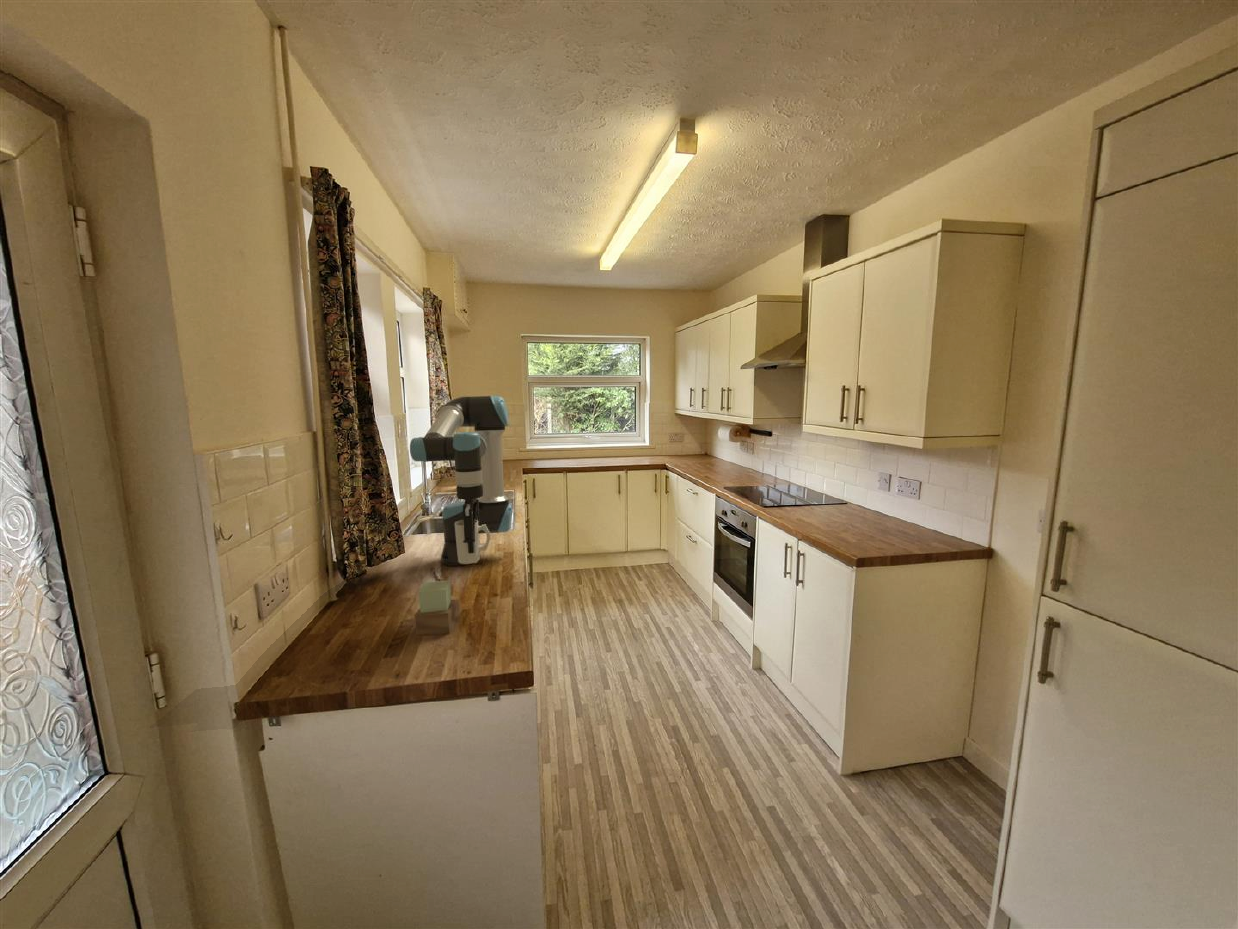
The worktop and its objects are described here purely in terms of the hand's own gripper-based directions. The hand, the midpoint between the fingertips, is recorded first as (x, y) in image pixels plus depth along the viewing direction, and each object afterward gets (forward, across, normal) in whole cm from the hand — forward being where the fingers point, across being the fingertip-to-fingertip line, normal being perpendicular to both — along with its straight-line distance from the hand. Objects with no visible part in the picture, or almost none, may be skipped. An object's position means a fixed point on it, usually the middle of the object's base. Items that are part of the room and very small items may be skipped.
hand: (474, 558), depth 144 cm
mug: (+1, 0, 0) cm, 1 cm away
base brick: (+15, +12, -9) cm, 21 cm away
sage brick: (+9, +12, -9) cm, 18 cm away
